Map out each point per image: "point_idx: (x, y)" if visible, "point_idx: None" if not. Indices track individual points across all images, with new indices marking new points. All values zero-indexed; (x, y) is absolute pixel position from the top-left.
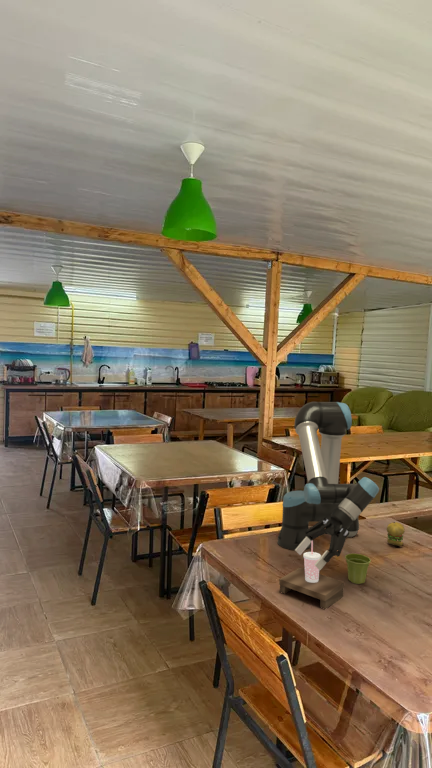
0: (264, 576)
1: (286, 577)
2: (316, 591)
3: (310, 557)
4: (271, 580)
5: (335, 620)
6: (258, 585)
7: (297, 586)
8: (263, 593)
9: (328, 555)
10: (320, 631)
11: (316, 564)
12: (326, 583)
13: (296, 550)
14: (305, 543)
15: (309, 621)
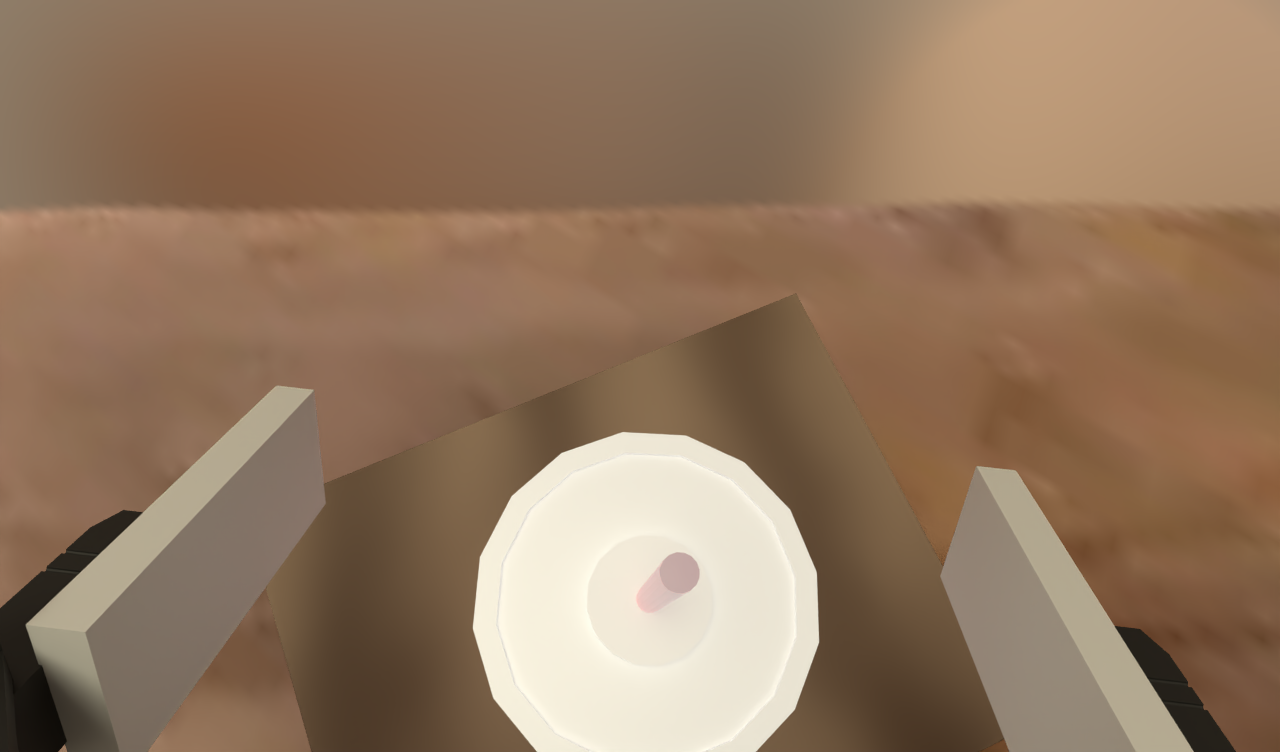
0: (1136, 411)
1: (804, 383)
2: (368, 482)
3: (546, 481)
4: (1032, 426)
5: (122, 508)
6: (963, 262)
7: (584, 383)
8: (807, 224)
9: (25, 595)
10: (79, 285)
11: (266, 401)
12: (474, 745)
13: (978, 480)
14: (1043, 688)
15: (239, 298)
